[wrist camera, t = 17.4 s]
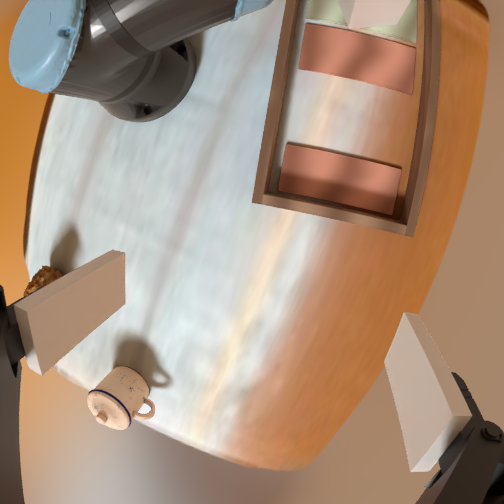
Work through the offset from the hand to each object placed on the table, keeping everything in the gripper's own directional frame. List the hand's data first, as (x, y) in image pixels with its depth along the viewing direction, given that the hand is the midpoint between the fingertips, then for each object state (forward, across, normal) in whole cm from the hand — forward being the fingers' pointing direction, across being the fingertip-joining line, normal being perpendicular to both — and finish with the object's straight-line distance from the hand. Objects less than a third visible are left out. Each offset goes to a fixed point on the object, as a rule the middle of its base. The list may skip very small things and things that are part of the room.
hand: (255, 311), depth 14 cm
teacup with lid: (+28, -22, -37) cm, 51 cm away
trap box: (+28, +5, +18) cm, 34 cm away
